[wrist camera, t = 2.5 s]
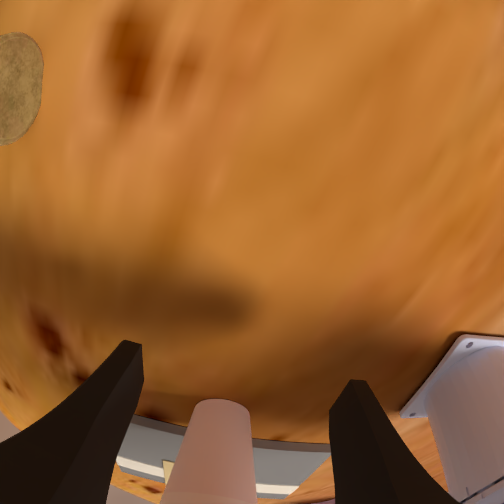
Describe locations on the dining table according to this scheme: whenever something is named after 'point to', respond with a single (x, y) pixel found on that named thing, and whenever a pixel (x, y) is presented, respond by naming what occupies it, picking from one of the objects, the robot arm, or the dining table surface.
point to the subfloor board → (264, 454)
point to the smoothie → (214, 458)
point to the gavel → (19, 85)
